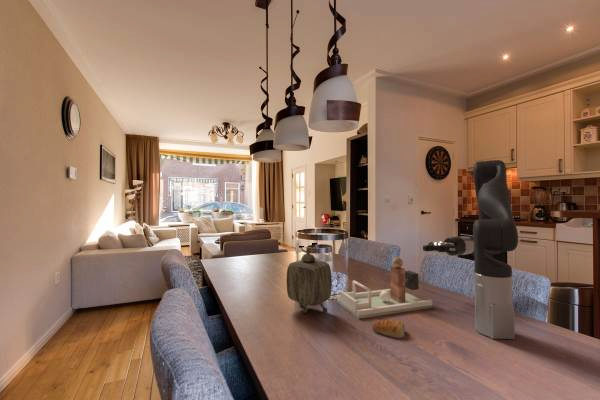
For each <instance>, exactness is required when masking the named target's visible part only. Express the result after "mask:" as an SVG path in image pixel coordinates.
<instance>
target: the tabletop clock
mask: <svg viewBox="0 0 600 400" xmlns="http://www.w3.org/2000/svg"><path fill="white" fill-rule="evenodd" d="M313 247H314V250H311V251H310V249H309V248H307V249H306V250H305V249H303V247H300V250H301V251H302V252H303V253H304V254H303V255H302V257H301V260H297V261H294V262H293V261H292V262H290V263H289V264H288V266H287V269H286V293H287V297H288V299H290V300H291V301H294V302H297V303H299V305H300V306H301V307H303V306H304V308H303V309H302V313H303V314H307V313H308V309H307V306H313V307H315V306H318V305H319V306H321V308H322V312H323V313H327V312H328V308H326V307H325V306H324V305H323V303H325V302H326V301H329V300H330V299H331V296H332V290H333V289H332V285H333V278H332V270H331V266H330V264H329V263H328V262H327V261H324V260H319V259H316V257H315V256H314V254H313V253H315V252H316V250H317V245H316V244H313Z"/></svg>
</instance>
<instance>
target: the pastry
mask: <svg viewBox="0 0 600 400" xmlns="http://www.w3.org/2000/svg"><path fill="white" fill-rule="evenodd" d="M371 327H372V330H373V331H374V332H375V333H378V334H381V335H383V336H386V337H390V338H396V339H403V338H404V336H405V333H406V326H405V322H404V321H403V320H396V319H389V320H388V319H385V320H383V319H382V320H378V321H375V322H374V323H373V324H372V325H371Z"/></svg>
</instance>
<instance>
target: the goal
mask: <svg viewBox="0 0 600 400" xmlns="http://www.w3.org/2000/svg"><path fill="white" fill-rule="evenodd" d="M356 285H357V286H358V287H360V288H362V289H363V290H366V292H368V302H361V303H358V301H357V300H356V293H357V291H356V289H357V288H356V287H357V286H356ZM371 291H372V289H371V288H370V287H367V286H365V285H364V284H362V283H360V282H358V281H356V280H352V291H350V292H349V291H348V292H345V291H344V290H339V294H338V295H340V302H341V303H343V304H344V305H345V306H346V307H348V308H349V309H350V310H352V311H353V312H354V313H357V310H360V309H367V308H372V298H371Z"/></svg>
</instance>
